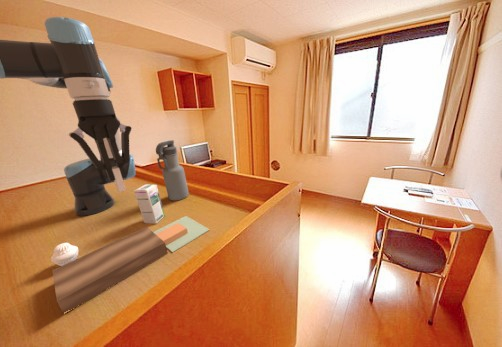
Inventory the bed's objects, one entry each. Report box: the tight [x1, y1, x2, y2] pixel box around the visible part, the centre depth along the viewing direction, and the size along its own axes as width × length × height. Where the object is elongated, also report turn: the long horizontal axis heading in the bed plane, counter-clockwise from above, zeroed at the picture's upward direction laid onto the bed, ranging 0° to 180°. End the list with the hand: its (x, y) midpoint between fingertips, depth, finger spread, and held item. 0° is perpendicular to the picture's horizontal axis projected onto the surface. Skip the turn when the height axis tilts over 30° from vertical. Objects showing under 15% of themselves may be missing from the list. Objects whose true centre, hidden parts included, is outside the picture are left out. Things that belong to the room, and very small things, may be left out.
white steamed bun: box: [50, 242, 79, 267], centre depth 58 cm, size 6×6×7 cm
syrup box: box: [134, 183, 166, 224], centre depth 77 cm, size 6×6×14 cm
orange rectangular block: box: [156, 223, 188, 245], centre depth 67 cm, size 6×9×2 cm, turn 138°
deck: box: [51, 226, 169, 313], centre depth 56 cm, size 14×24×4 cm, turn 138°
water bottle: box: [155, 140, 189, 202], centre depth 95 cm, size 10×10×28 cm
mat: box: [152, 215, 210, 253], centre depth 70 cm, size 16×14×1 cm
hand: (121, 189), depth 55 cm, fingers closed
